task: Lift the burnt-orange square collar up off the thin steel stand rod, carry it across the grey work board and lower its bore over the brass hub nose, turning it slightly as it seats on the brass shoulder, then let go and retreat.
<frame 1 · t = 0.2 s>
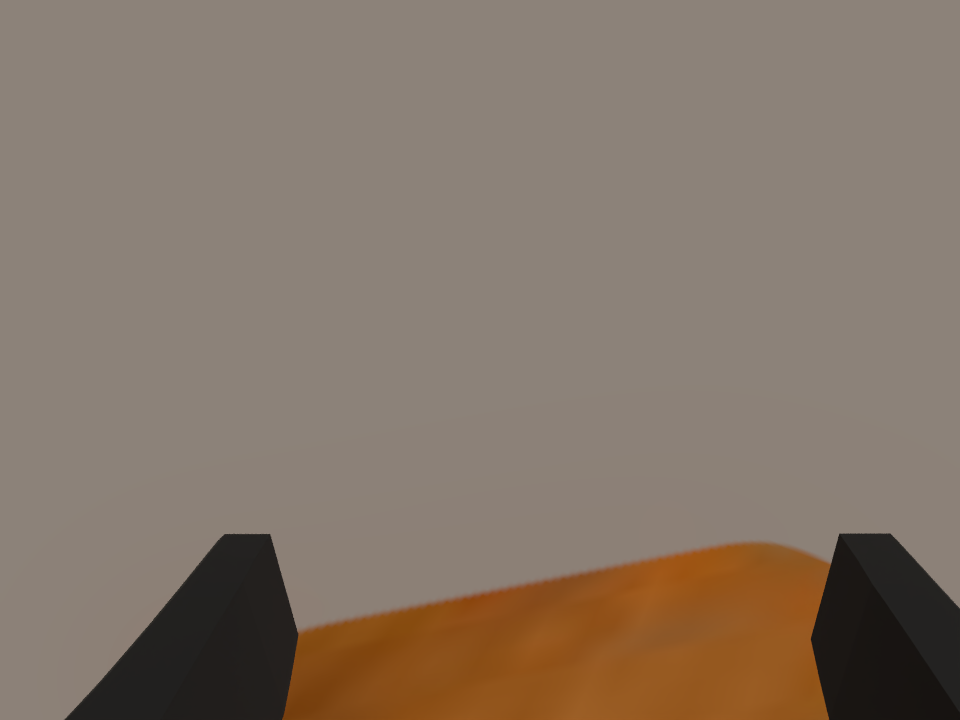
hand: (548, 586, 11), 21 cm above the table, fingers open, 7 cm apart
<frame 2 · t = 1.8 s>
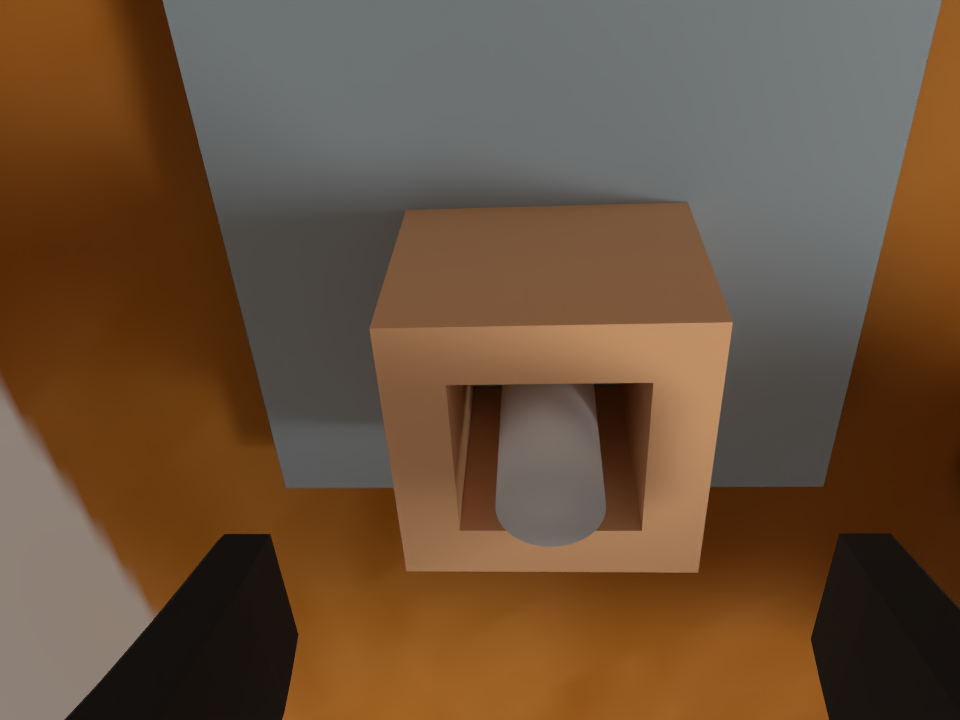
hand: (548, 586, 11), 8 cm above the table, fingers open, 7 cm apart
work board: (542, 55, 15), on the table
collar: (546, 325, 16), point 1 cm above the table, touching work board
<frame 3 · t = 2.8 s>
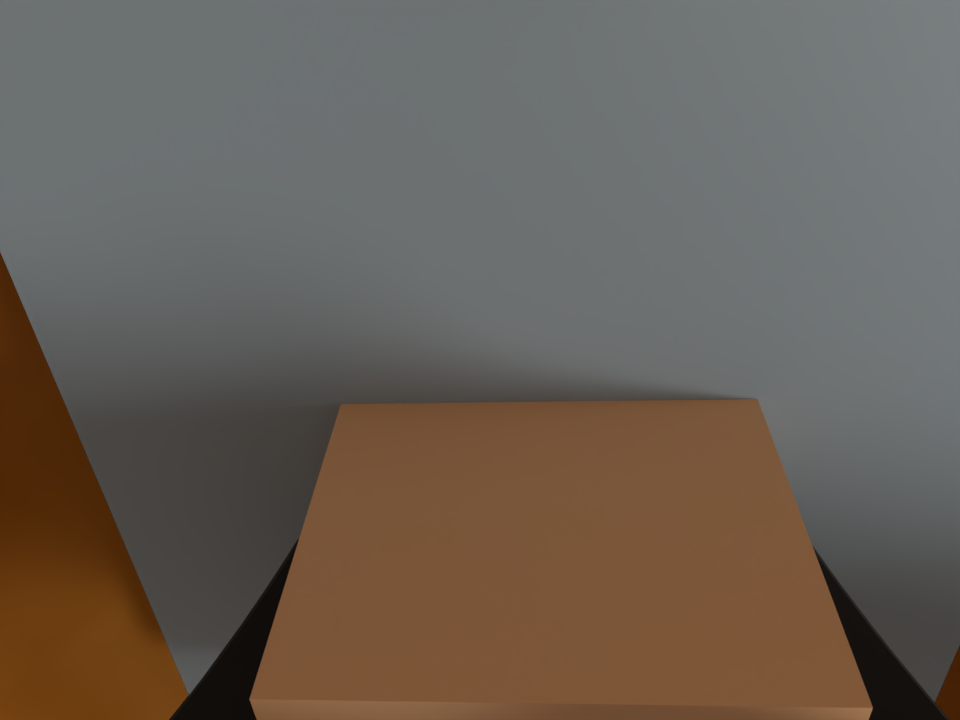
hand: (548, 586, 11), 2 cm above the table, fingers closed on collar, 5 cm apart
work board: (541, 179, 10), on the table
collar: (547, 546, 11), point 1 cm above the table, touching gripper, work board
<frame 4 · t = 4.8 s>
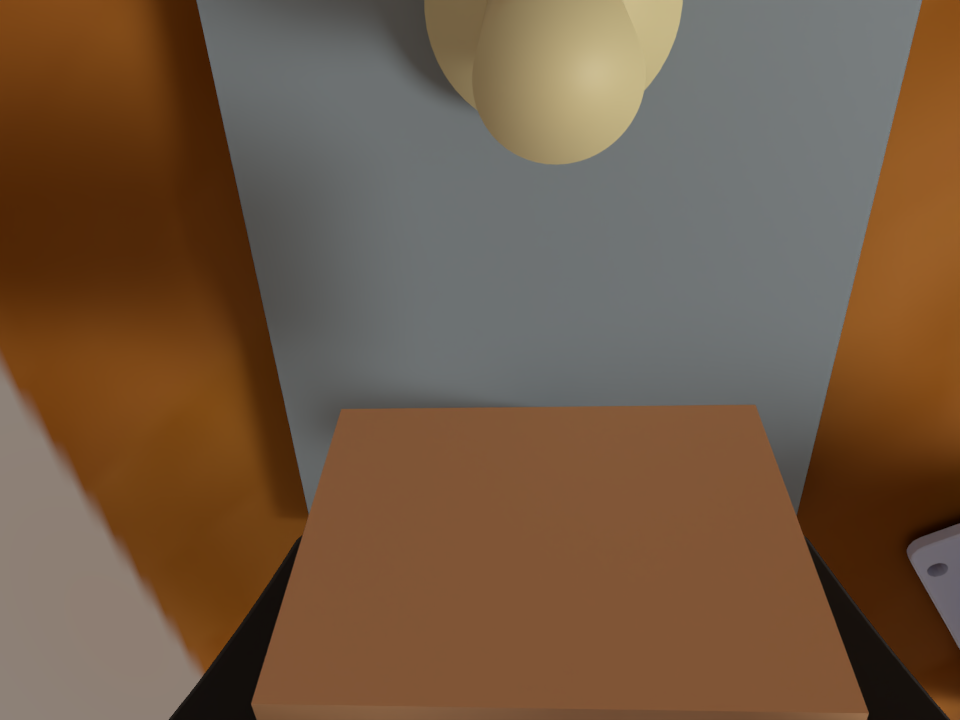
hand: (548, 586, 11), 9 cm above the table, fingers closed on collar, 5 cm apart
work board: (548, 219, 18), on the table
collar: (546, 550, 11), point 8 cm above the table, touching gripper
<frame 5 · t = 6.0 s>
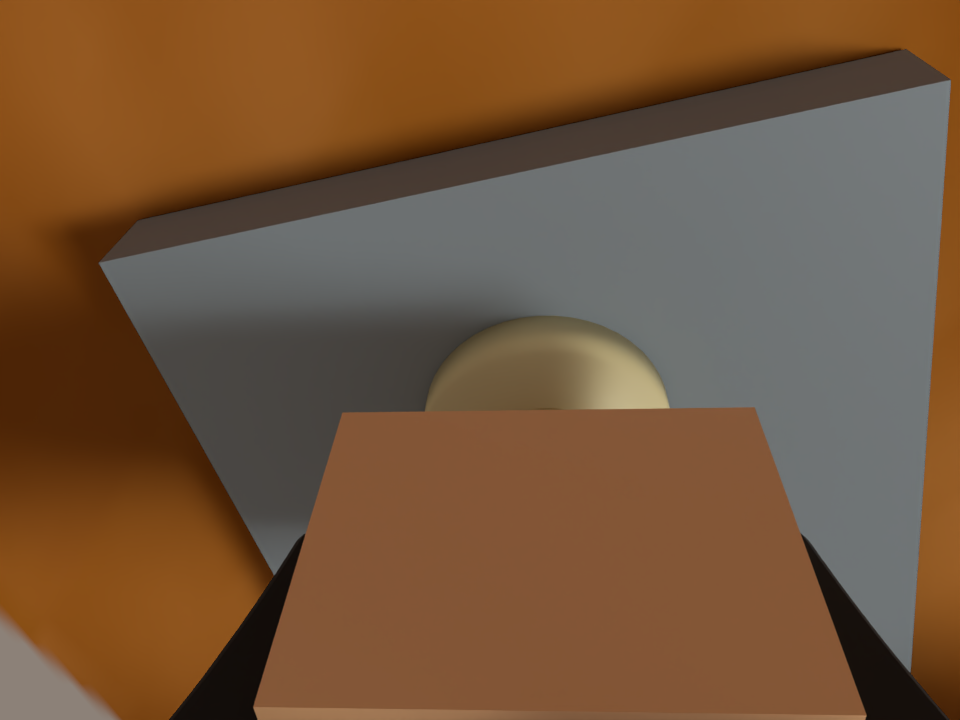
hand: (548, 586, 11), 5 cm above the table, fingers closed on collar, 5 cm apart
work board: (588, 545, 17), on the table
collar: (546, 552, 11), point 4 cm above the table, touching gripper
when the fingers open (3 cm above the table, at t = 6.8 s): collar stays where it is, resting on work board.
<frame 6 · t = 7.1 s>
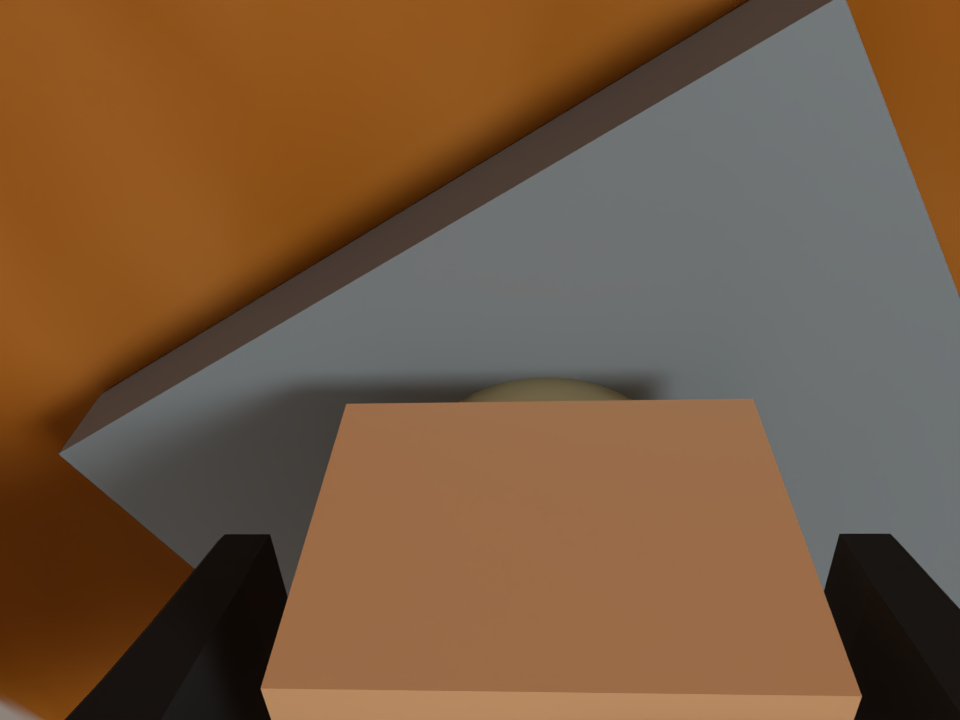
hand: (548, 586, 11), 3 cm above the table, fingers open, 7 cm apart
work board: (671, 589, 16), on the table
collar: (547, 542, 12), point 2 cm above the table, touching work board
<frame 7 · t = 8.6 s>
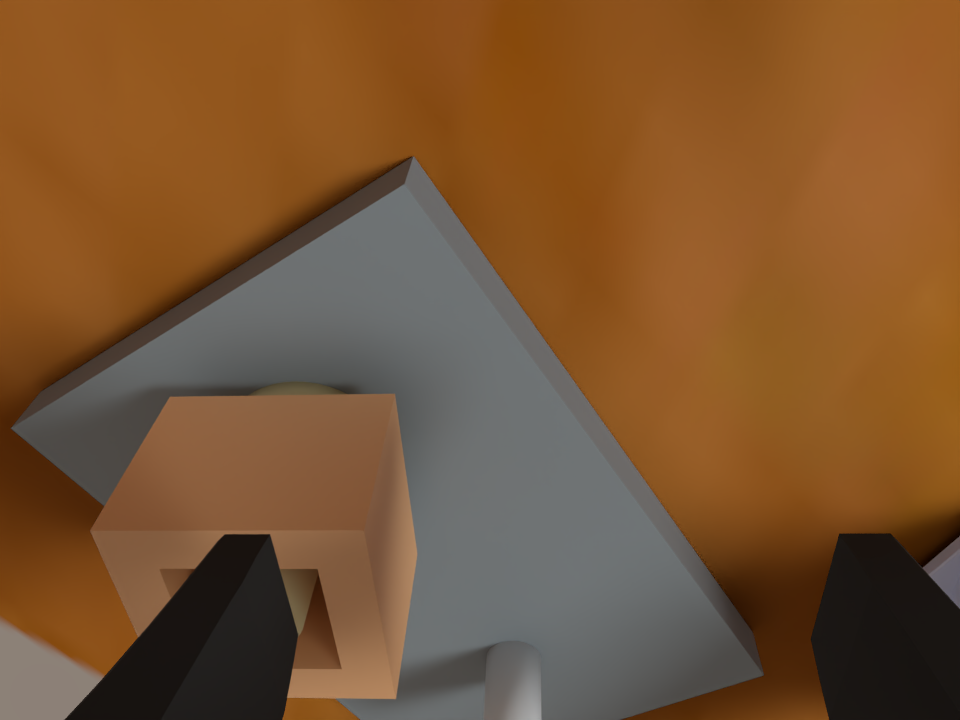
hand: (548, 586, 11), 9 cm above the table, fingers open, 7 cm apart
work board: (427, 522, 23), on the table
collar: (301, 480, 19), point 2 cm above the table, touching work board
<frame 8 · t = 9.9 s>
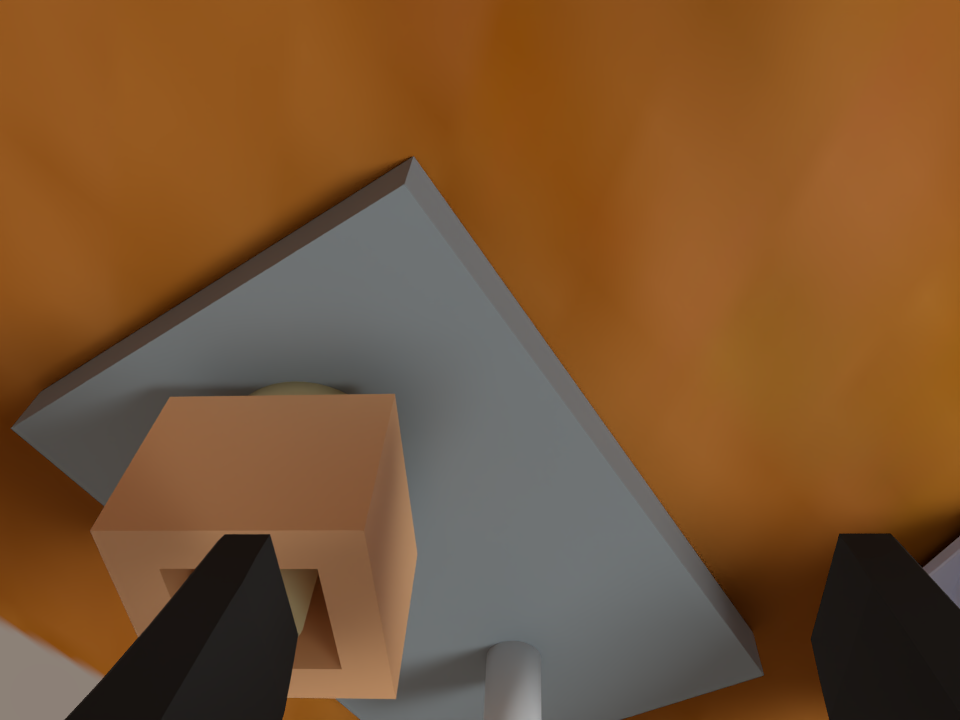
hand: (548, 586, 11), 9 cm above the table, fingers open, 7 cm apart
work board: (427, 522, 23), on the table
collar: (301, 480, 19), point 2 cm above the table, touching work board
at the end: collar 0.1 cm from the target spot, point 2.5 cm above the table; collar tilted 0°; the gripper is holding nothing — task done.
